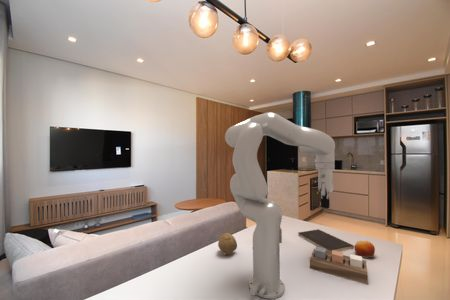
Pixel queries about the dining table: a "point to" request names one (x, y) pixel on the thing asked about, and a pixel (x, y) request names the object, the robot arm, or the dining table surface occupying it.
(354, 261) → the cream key
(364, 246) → the fruit
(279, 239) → the architectural model on board
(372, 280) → the dining table surface
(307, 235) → the hardcover book
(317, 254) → the slate key
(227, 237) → the natural sponge
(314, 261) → the wooden key base
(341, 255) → the terracotta key
